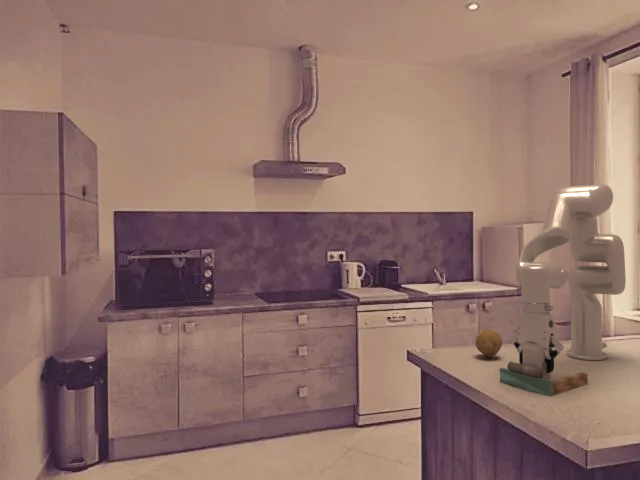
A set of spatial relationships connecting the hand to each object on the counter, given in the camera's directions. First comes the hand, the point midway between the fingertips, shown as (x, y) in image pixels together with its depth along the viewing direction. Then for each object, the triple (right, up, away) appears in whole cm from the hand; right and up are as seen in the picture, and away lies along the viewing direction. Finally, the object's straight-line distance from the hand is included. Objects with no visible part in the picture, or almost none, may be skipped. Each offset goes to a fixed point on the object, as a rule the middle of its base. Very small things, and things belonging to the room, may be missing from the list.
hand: (536, 368), depth 151 cm
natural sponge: (-4, -4, +31) cm, 32 cm away
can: (0, -4, 0) cm, 4 cm away
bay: (+3, -5, +2) cm, 6 cm away
